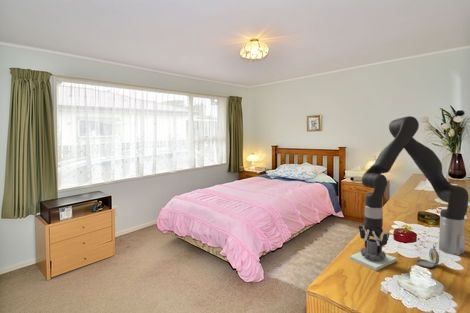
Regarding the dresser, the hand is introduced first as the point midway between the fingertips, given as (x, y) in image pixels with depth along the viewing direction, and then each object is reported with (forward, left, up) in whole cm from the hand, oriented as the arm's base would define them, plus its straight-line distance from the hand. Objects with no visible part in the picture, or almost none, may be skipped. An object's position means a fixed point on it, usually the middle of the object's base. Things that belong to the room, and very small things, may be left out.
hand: (372, 250), depth 122 cm
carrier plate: (0, 0, -5) cm, 5 cm away
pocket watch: (-16, -16, -5) cm, 23 cm away
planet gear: (0, 0, -2) cm, 2 cm away
